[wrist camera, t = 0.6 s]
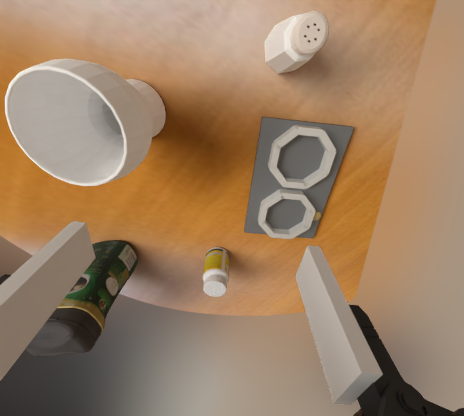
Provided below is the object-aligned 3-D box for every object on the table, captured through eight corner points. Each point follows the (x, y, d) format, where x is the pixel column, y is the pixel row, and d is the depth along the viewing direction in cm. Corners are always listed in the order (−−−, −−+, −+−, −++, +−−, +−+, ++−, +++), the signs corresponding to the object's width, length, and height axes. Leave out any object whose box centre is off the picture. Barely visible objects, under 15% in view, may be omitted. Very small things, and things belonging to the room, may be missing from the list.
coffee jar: (102, 269, 47) (34, 367, 31) (84, 241, 43) (-5, 337, 27) (144, 265, 46) (97, 363, 30) (130, 236, 42) (66, 331, 26)
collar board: (262, 116, 31) (264, 119, 29) (351, 126, 31) (359, 129, 29) (244, 229, 41) (244, 237, 39) (311, 235, 42) (315, 243, 40)
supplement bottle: (201, 256, 45) (195, 290, 38) (215, 242, 43) (211, 275, 36) (220, 267, 46) (217, 301, 39) (234, 254, 44) (234, 288, 37)
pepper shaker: (297, 79, 29) (328, 80, 19) (257, 68, 28) (269, 63, 19) (314, 27, 26) (360, -1, 16) (271, 14, 25) (292, -24, 16)
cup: (174, 70, 28) (122, 63, 15) (177, 151, 34) (141, 196, 21) (91, 62, 28) (-34, 48, 15) (108, 145, 33) (27, 187, 20)
